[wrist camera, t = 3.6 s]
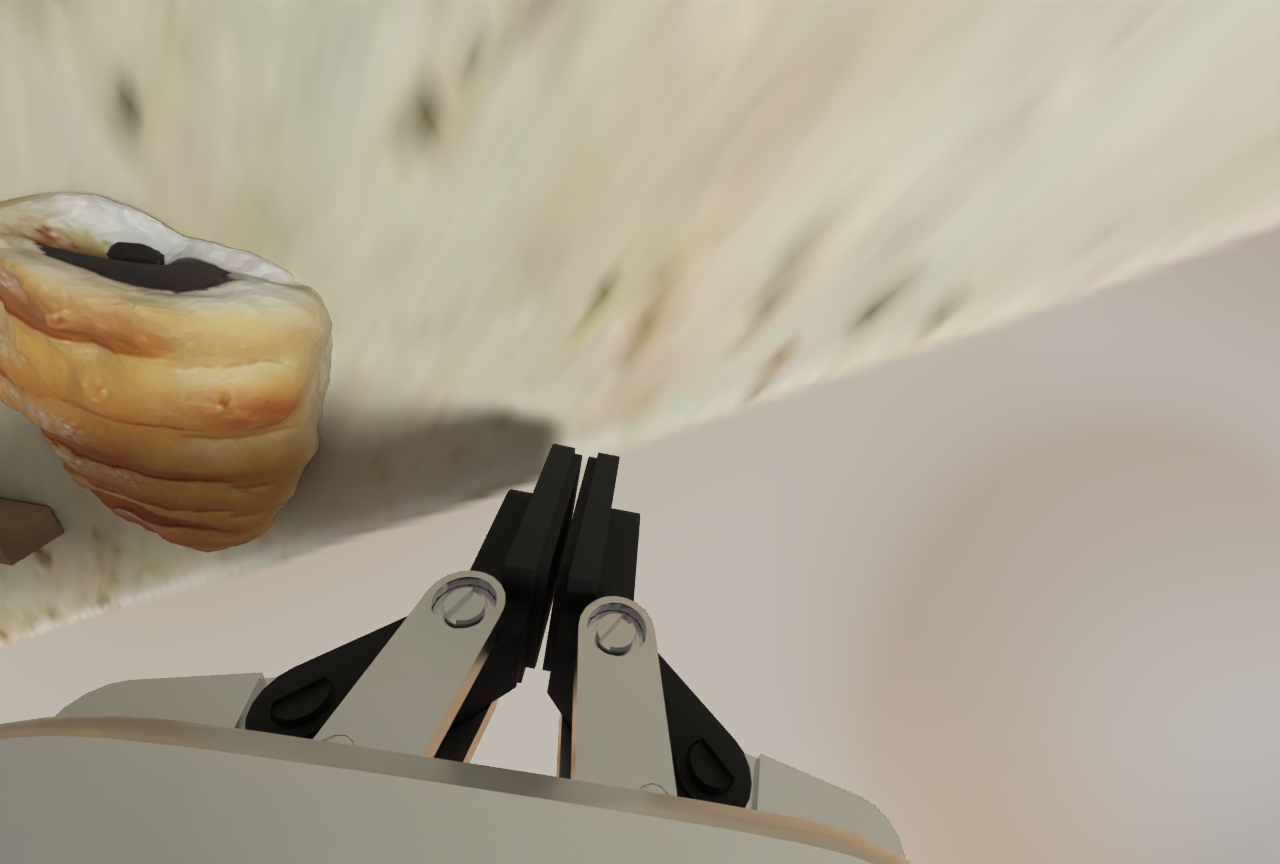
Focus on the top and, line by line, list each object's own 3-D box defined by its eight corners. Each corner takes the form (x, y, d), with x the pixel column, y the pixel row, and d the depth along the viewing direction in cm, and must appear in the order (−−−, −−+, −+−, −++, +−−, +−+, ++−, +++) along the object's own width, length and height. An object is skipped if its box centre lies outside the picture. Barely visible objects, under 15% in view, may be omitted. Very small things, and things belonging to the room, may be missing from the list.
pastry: (336, 537, 16) (250, 634, 13) (124, 471, 15) (-28, 558, 12) (356, 279, 11) (229, 328, 8) (52, 160, 10) (-230, 162, 7)
